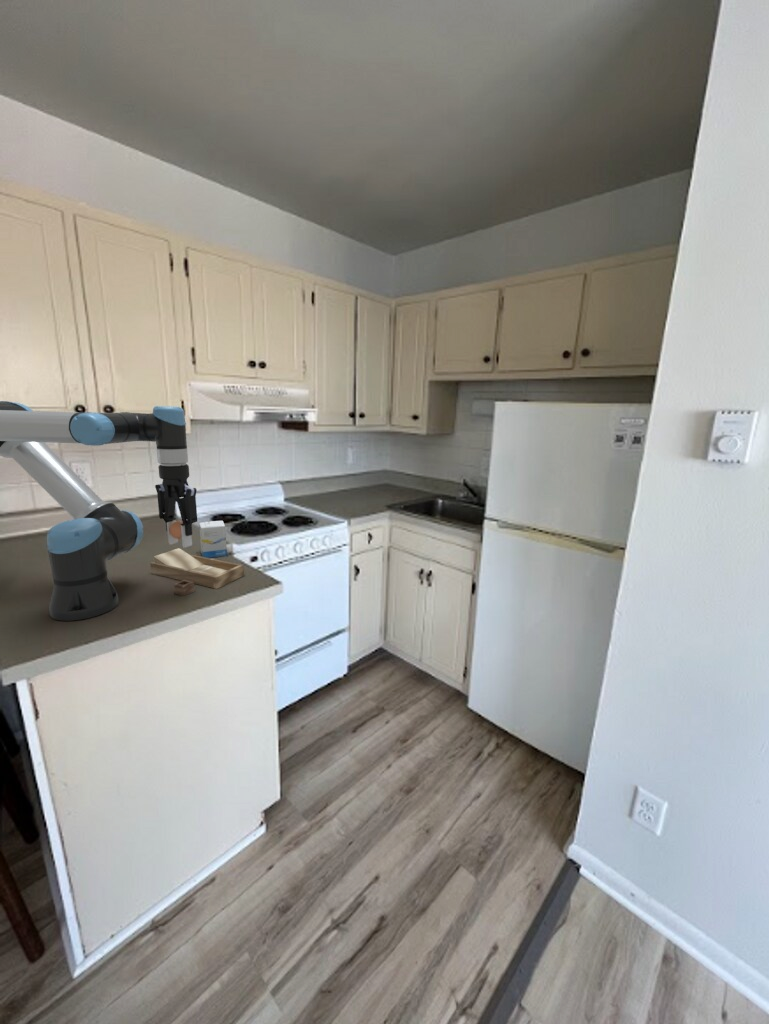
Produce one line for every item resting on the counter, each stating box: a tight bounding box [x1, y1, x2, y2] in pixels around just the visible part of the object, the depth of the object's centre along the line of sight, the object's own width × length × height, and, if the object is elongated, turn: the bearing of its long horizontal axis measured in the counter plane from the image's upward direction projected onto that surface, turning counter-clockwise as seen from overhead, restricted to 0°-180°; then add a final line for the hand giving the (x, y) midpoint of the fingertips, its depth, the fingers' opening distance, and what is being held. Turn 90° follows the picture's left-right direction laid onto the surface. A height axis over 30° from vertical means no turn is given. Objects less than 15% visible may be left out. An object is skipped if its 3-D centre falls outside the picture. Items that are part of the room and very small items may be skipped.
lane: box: [149, 547, 245, 590], centre depth 139 cm, size 12×28×6 cm, turn 67°
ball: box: [169, 520, 183, 540], centre depth 122 cm, size 5×5×5 cm
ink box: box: [198, 520, 228, 559], centre depth 158 cm, size 9×8×12 cm
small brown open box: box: [173, 580, 195, 597], centre depth 125 cm, size 4×4×3 cm
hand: (180, 544), depth 123 cm, fingers closed on ball, 5 cm apart
